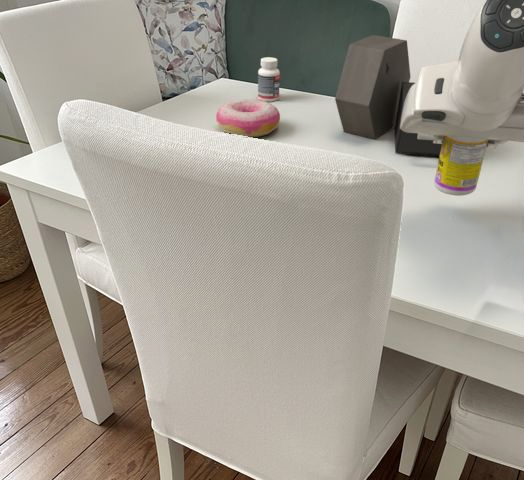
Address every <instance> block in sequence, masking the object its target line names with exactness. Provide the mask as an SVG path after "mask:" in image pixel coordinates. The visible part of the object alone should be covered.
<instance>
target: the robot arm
mask: <svg viewBox="0 0 524 480" xmlns="http://www.w3.org/2000/svg"><path fill="white" fill-rule="evenodd" d="M414 83H415V84H414V85H412V87H411V88H410V90H409V92H408V94H407V96H406V99H405V102H404V106H403V111H402V116H401V123H400V129H401V130H403V131H404V132H407V133H420V134H428V135H430V136H431V137H432V138H433V143H436V144H443V141H444V136H456V137H468V138H479V139H489V140H488V144H487V148H486V149H494V150H495V149H497V148H498V146H500V145H502V144H505V143H507V142H517V143H524V0H484V1H483V2H482V4H481V5H480V7H479V9H478V11H477V12H476V14H475V15H474V18H473V20H472V21H471V23H470V25H469V28H468V30H467V32H466V34H465V37H464V40H463V42H462V45H461V48H460V52H459V55H458V59H457V60H454V61H449V62H446V63H445V62H444V63H439V64H432V65H426V66H423V67H421V68H420V69H419V72H418V76H417V79H416V82H414Z"/></svg>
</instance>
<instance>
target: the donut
mask: <svg viewBox="0 0 524 480" xmlns="http://www.w3.org/2000/svg"><path fill="white" fill-rule="evenodd" d="M215 119H216V123H217V125H218V126H219V129H221V130H222V131H223V132H225V133H227V134H228V133H231V134H237V135H243V136H248V137H250V138H257V137H258V138H260V137H263V136H266V135H269V134H270V133H272V132H273V131H274V130H276V129H277V128H278V126H279V124H280V121H281V114H280V112H279V109H278V108H277V106H275V105H274V104H273V103H270V101H262V100H260V99H253V98H244V99H235V100H231V101H228V102H225V103H224V104H222V105H221V106H220V107H219V108H218V109H217V111H216V113H215ZM231 134H230V135H231ZM248 137H247V138H248Z"/></svg>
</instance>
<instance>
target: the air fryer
mask: <svg viewBox="0 0 524 480" xmlns="http://www.w3.org/2000/svg"><path fill="white" fill-rule="evenodd" d="M415 83H416V82H411V81H409V82H402V86H401V92H400V98H399V105H398V111H397V117H396V123H395V127H394V149H395V150H394V153H395V154H402V155H416V156H429V157H439V156H440V154H431V153H418V152H404V151H399V146H400V140H401V134H402V130H401V129H400V123H401V116H402V111H403V106H404V102H405V99H406V96H407V94H408V92H409V90H410V88H411V87H412V85H414V84H415Z"/></svg>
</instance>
